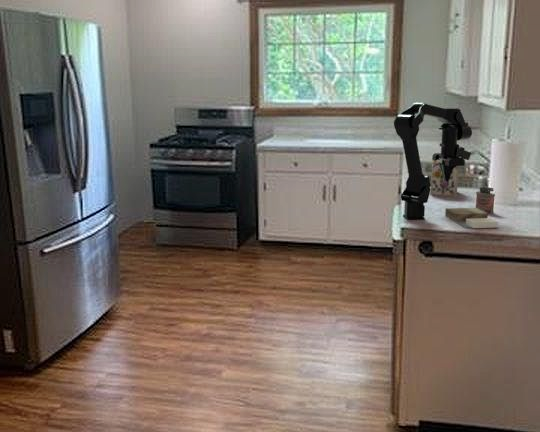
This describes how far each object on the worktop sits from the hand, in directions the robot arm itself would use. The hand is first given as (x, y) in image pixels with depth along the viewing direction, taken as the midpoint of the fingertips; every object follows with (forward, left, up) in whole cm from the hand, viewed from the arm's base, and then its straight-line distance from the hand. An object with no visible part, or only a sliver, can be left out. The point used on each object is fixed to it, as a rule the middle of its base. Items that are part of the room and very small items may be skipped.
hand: (446, 181), depth 228 cm
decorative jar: (+13, +36, -12) cm, 40 cm away
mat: (+3, -22, -12) cm, 26 cm away
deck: (+3, -13, -12) cm, 18 cm away
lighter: (+15, -2, -12) cm, 19 cm away
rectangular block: (+4, -25, -10) cm, 27 cm away
